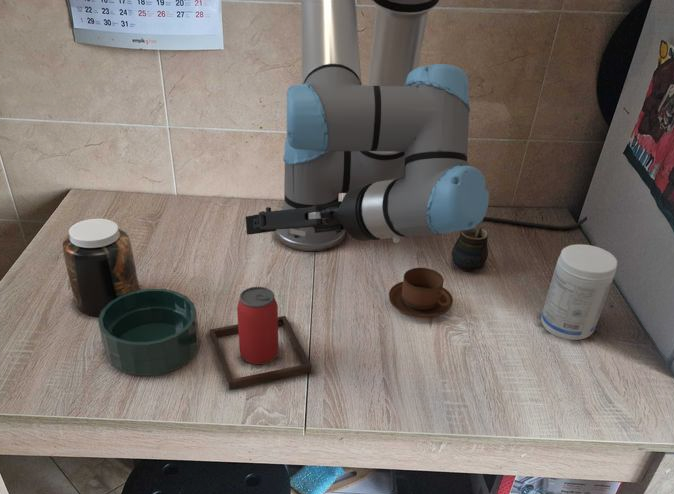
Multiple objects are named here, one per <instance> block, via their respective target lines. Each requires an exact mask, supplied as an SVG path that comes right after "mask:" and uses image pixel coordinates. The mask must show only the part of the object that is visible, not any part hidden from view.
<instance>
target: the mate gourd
mask: <svg viewBox="0 0 674 494" xmlns="http://www.w3.org/2000/svg"><path fill="white" fill-rule="evenodd" d="M484 217H486V215H485V216H484ZM484 221H485V220H484V218H483V219H482V221H481V222H480V223H479V224H478V225H477V226H475V227H474V228H471V229H468V230H462V231H459V237H458V238H457V240H456V242H455V243H454V245H453V247H452V250H451V259H452V262H453V265H454V266H455V267H456V268H457V269H458V270H460V271H462V272H467V273H473V272H476V271H478V270H481V269H483V267H484V266H485V264H486V263H487V261H488V256H489V247H488V239H489V233H488V231H486V230H485V229H484V228H482V225H483V222H484Z"/></svg>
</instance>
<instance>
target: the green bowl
mask: <svg viewBox="0 0 674 494" xmlns="http://www.w3.org/2000/svg"><path fill="white" fill-rule="evenodd" d="M97 321H98V329H99V332H100V336H101V341H102V346H103V351H104V354H105V358H106V359H107V361H108V362H109V363H110V365H111V366H112V367H114V368H115V369H117V370H119V371H121V372H123V373H126V374H130V375H134V376H155V375H160V374H165V373H169V372H171V371H174V370H176V369H179V368H181V367H183V366H184V365H185V364H186V363H188V362H190V361H191V360H192V359H193V358H194V357H195V355H196V353H197V352H198V350H199V346H200V342H201V341H200V333H199V332H200V331H199V322H198V321H199V320H198V312H197V309H196V306H195V303H194V302H193V301H192V300H191V299H190V298H189V297H188V296H187V295H184V294H182V293H180V292H178V291H176V290H172V289H167V288H145V289H139V290H137V291H133V292H130V293H127V294H124V295H121V296H119V297H118V298H116V299H114V300H113V301H111V302H109V303H108V305H107V306H106V307H105V308H104V309H103V310H102V311H101V314H100V316H99V317H98V319H97Z"/></svg>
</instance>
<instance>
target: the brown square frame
mask: <svg viewBox="0 0 674 494" xmlns="http://www.w3.org/2000/svg"><path fill="white" fill-rule="evenodd" d="M280 326H281V327H283V329H284V331H285V333H286V336H287V337H288V339H289V341H290V343H291V345H292V347H293V349H294V351H295V353H296V355H297V357H298V359H299V361H300V363H301V364H299V365H294V366H291V367H290V366H289V367H285V368H281V369H275V370H270V371H265V372H261V373H255V374H250V375H245V376H240V377H236V378H235V377H234V378H232V374H231V372H230V370H229V367H228V363H227V361H226V358H225V355H224V352H223V350H222V347H221V345H220V342H219V339H218V338H221V337H226V336H233V335H237V334H238V335H239V332H238V323H237V324H232V325H226V326H221V327H216V328H210V329H209V330H208V331H209V337H210V340H211V343H212V346H213V349H214V351H215V354H216V358H217V360H218V362H219V366H220V369H221V371H222V375H223V377H224V379H225V382H226V385H227V388H228V390H229V391H230V390H235V389H240V388H244V387H250V386H254V385H259V384H264V383H268V382H275V381H279V380H283V379H288V378H294V377H298V376H303V375H308V374H312V371H313V370H312V367H313V366H312V364H311V362H310V360H309V358H308V356H307V354H306V352H305V351H304V349H303V346H302V344H301V343H300V341H299V339H298V336H297V335H296V333H295V331H294V330H293V328H292V325H291V323H290V322H289V319H288V318H287V316H286V315H282V316H278V327H280Z"/></svg>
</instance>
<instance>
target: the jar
mask: <svg viewBox="0 0 674 494" xmlns="http://www.w3.org/2000/svg"><path fill="white" fill-rule="evenodd" d="M62 253H63V258H64V263H65V268H66V271H67V276H68V279H69V283H70V289H71V292H72V295H73V300H74V304H75V306H76V308H77V310H78V311H79V312H81V313H82V314H84V315H87V316H90V317H95V318H99V316H100V314H101V311H102V310H103V309H104V308H105V307H106V306H107V305H108V303H109V302H111V301H113V300H114V299H116V298H118V297H119V296H121V295H124V294H127V293H130V292H133V291H137V290H140V286H139V280H138V274H137V273H138V272H137V268H136V267H137V266H136V263H135V258H134V257H135V256H134V251H133V247H132V243H131V239H130V237H129V235H128V234H127V232H125V231H124V230H122V229H120V228H119V225H118V224H117V223H116V222H115V221H113V220H110V219H106V218H88V219H84V220H81V221H78V222H76V223H74V224H73V225H71V226H70V228H69V229H68V235H66V237H65V238H64V239H63V242H62Z"/></svg>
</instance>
